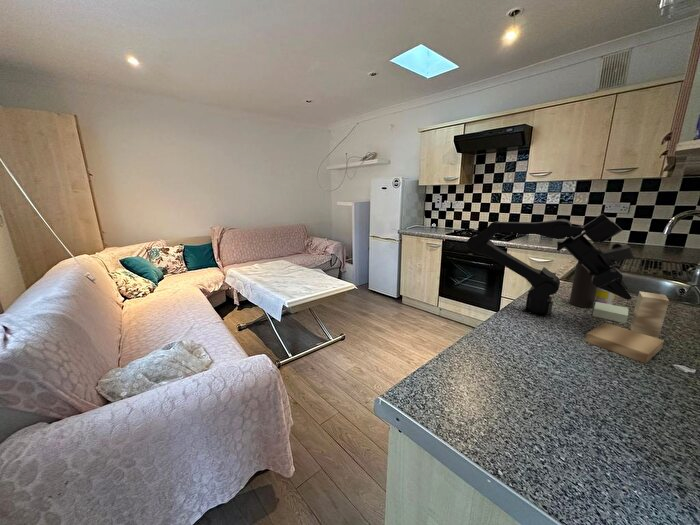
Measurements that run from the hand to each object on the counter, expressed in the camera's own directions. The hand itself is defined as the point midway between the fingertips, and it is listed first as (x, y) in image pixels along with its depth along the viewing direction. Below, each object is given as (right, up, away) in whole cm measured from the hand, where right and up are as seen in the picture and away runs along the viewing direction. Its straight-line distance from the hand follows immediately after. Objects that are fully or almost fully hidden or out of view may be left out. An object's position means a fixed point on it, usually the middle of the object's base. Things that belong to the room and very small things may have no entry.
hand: (627, 294), depth 79 cm
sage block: (+6, -9, +12) cm, 16 cm away
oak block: (-7, -14, -5) cm, 16 cm away
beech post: (+4, -12, 0) cm, 12 cm away
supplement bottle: (+13, -6, +22) cm, 26 cm away
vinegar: (+4, -6, +21) cm, 22 cm away
